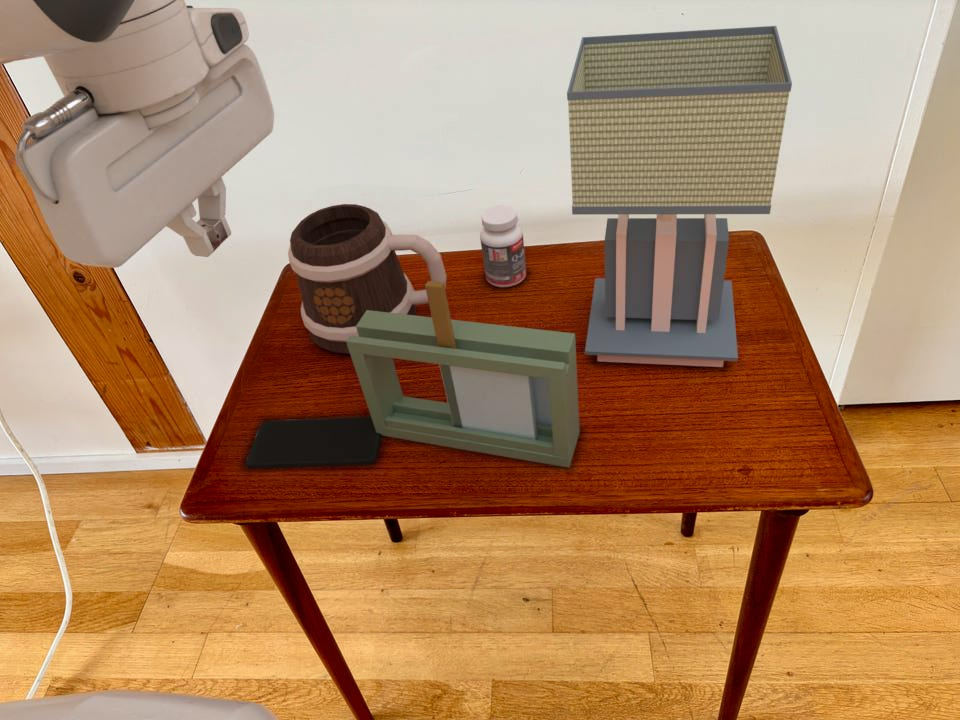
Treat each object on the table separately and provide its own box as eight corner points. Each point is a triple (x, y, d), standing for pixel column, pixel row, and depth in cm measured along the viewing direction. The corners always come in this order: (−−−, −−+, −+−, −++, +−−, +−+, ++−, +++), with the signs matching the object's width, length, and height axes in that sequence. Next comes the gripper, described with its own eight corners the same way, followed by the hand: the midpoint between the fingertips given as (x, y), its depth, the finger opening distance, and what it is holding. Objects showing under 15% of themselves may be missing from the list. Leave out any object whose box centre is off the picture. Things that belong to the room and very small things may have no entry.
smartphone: (261, 419, 83) (385, 415, 81) (263, 424, 84) (387, 420, 82) (242, 466, 78) (375, 462, 76) (245, 471, 79) (376, 467, 77)
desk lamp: (736, 296, 89) (775, 24, 68) (743, 374, 79) (792, 84, 58) (589, 293, 94) (582, 36, 72) (578, 366, 84) (566, 94, 62)
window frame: (569, 468, 73) (563, 369, 64) (376, 434, 80) (345, 341, 70) (579, 432, 76) (575, 333, 67) (394, 403, 83) (366, 309, 74)
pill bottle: (523, 289, 96) (517, 226, 89) (482, 288, 97) (473, 226, 91) (529, 264, 100) (523, 202, 94) (489, 264, 101) (481, 203, 95)
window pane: (535, 443, 74) (519, 295, 61) (453, 430, 76) (421, 286, 64) (537, 436, 74) (522, 288, 61) (456, 423, 77) (425, 279, 64)
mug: (294, 360, 91) (255, 264, 81) (324, 289, 102) (292, 196, 92) (446, 356, 88) (425, 255, 78) (460, 283, 99) (443, 186, 89)
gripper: (46, 136, 36) (161, 340, 45) (256, 3, 50) (312, 181, 59) (-42, 133, 38) (86, 329, 47) (183, 6, 52) (248, 177, 61)
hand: (212, 245), depth 53 cm, fingers closed
